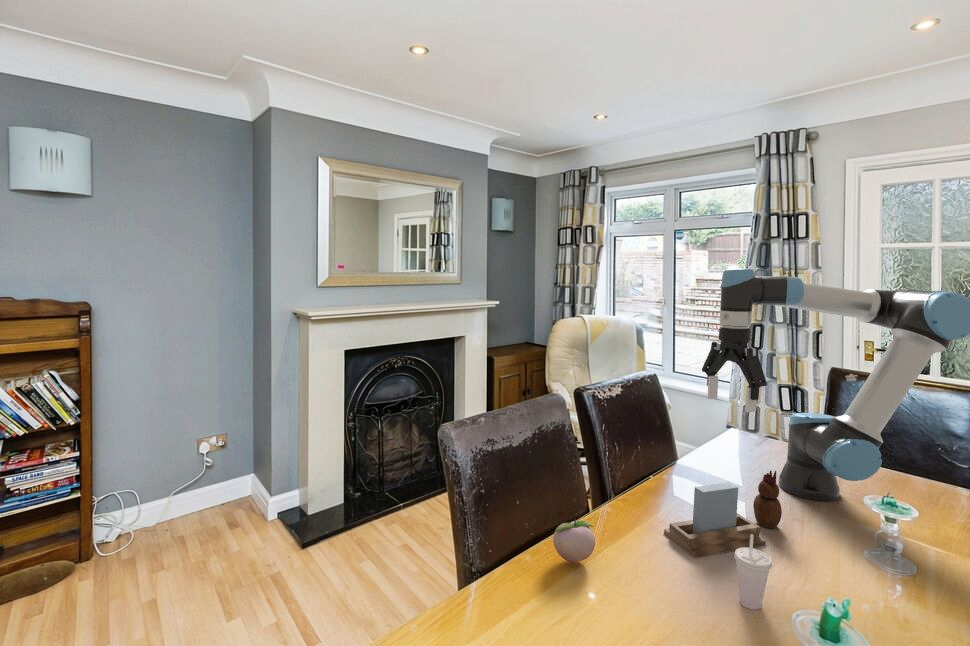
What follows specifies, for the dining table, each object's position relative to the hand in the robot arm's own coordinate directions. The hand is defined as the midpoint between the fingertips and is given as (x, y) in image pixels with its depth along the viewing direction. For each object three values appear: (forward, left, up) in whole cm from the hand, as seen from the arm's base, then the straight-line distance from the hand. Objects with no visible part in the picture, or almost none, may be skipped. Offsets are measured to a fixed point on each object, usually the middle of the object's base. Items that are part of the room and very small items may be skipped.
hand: (730, 404), depth 131 cm
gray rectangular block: (+15, +13, -28) cm, 34 cm away
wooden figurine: (-3, +11, -29) cm, 31 cm away
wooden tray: (+15, +13, -29) cm, 35 cm away
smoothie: (+25, +34, -29) cm, 51 cm away
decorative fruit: (+52, +13, -29) cm, 61 cm away
